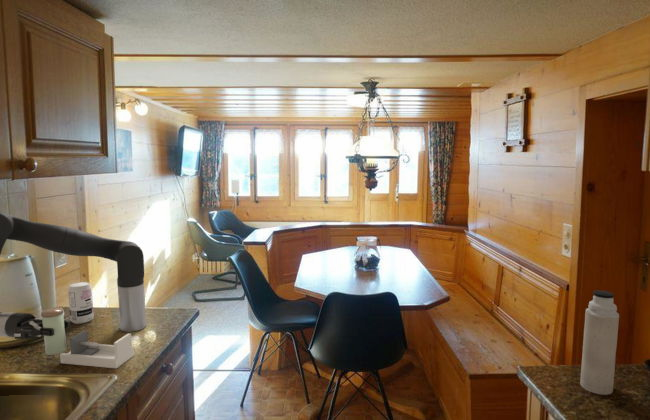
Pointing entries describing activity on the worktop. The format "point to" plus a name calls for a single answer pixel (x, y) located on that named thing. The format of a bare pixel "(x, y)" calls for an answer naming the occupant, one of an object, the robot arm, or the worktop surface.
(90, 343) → the pusher
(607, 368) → the thermos bottle
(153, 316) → the worktop surface
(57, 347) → the jar
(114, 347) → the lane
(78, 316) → the supplement can
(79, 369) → the worktop surface
